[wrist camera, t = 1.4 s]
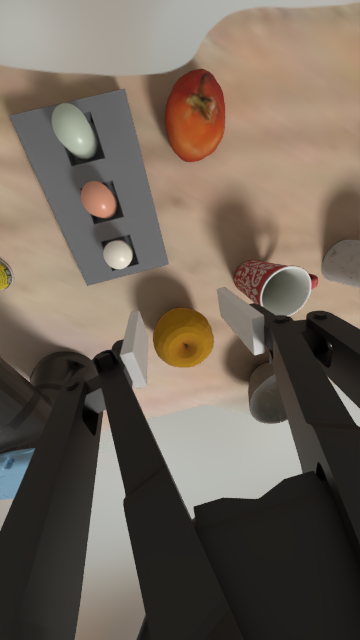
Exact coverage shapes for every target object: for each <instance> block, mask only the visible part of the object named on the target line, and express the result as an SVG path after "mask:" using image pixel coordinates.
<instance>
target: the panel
mask: <svg viewBox="0 0 360 640" xmlns="http://www.w3.org/2000/svg"><path fill="white" fill-rule="evenodd" d="M65 103H69V104H72V105H74V106H76V107H77V108H78V109H79V110H80V111H81V112H82V113H83V114H84V116H85V117H86V119H87V121H88V123H89V125H90V126H91V128H92V130H93V132H94V134H95V136H96V139H97V151H96V153H95V155H94V156H93V157H92V158H91V159H88V160H82V159H79V158H77V157H76V156H74V155H73V154H72V153H71V152H70V151H69V150H68V149H67V148H66V147H65V146H64V145H63V144H62V143H61V142H60V141H59V139H58V138H57V136H56V135H55V132H54V130H53V126H52V114H53V111H54V109H55V108H56V107H57V106H58V105H60V104H57V105H52V106H48V107H44V108H40V109H35V110H31V111H27V112H23V113H18V114H14V115H10V116H9V117H10V120H11V122H12V124H13V126H14V128H15V130H16V133H17V135H18V137H19V139H20V141H21V143H22V146H23V148H24V150H25V152H26V154H27V156H28V159H29V161H30V163H31V165H32V167H33V169H34V172H35V174H36V176H37V178H38V180H39V182H40V185H41V187H42V189H43V191H44V193H45V195H46V198H47V200H48V202H49V204H50V206H51V208H52V211H53V213H54V215H55V217H56V219H57V221H58V224H59V226H60V228H61V230H62V232H63V234H64V237H65V239H66V241H67V243H68V245H69V247H70V250H71V252H72V254H73V256H74V258H75V260H76V263H77V265H78V267H79V269H80V271H81V273H82V276H83V278H84V280H85V282H86V284H87V286H88V285H92V284H96V283H99V282H103V281H107V280H111V279H115V278H118V277H122V276H126V275H130V274H134V273H137V272H141V271H145V270H149V269H153V268H156V267H160V266H164V265H168V264H169V263H168V259H167V255H166V251H165V247H164V243H163V239H162V235H161V231H160V227H159V223H158V219H157V215H156V211H155V207H154V203H153V199H152V195H151V191H150V187H149V183H148V179H147V175H146V171H145V167H144V163H143V159H142V155H141V151H140V147H139V143H138V139H137V135H136V131H135V127H134V123H133V119H132V115H131V111H130V107H129V103H128V99H127V95H126V92H125V89H121V90H116V91H112V92H108V93H104V94H99V95H95V96H91V97H87V98H82V99H78V100H74V101H69V102H65ZM61 104H62V103H61ZM91 181H97V182H100V183H102V184H104V185H105V186H106V187H107V188H108V189H109V190H110V191H111V192H112V193H113V194H114V196H115V198H116V201H117V210H116V213H115V214H114V215H113V216H112V217H110V218H106V219H105V218H100V217H97V216H94V215H92V214H90V213H89V212H88V211H87V210H86V209H85V207H84V206H83V204H82V201H81V191H82V188H83V187H84V185H85V184H86V183H88V182H91ZM117 240H122V241H125V242H127V243H128V244H129V245H130V246H131V248H132V250H133V259H132V261H131V262H130V264H129V265H128V266H127V267H126V268H123V269H114V268H112V267H110V266H109V265H108V264H107V263H106V261H105V259H104V256H103V251H104V248H105V246H106V245H107V244H108V243H110V242H112V241H117Z"/></svg>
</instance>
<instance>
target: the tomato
mask: <svg viewBox="0 0 360 640" xmlns="http://www.w3.org/2000/svg"><path fill="white" fill-rule="evenodd" d="M165 121H166V130H167V134H168V138H169V141H170V144H171V147H172V149H173V151H174V152H175V153H176V154H177V155H178V156H179V157H180V158H181V159H182V160H184V161H186V162H194V161H199V160H201V159H204V158H205V157H206V156H208V155H210V154H211V153H213V152H214V151H215V149H216V148H217V146H218V144H219V143H220V141H221V139H222V137H223V134H224V129H225V103H224V97H223V92H222V89H221V87H220V86H219V84H218V83H217V81H216V79H215V78H214V76H213V75H212V74H211V73H210V72H208V71H206V70H204V69H198V70H194V71H190V72H189V73H187V74H185V75H183V76H182V77H181V78H179V79H178V81H177V82H176V84H175V85H174V87H173V89H172V91H171V93H170V95H169V98H168V101H167V106H166V115H165Z"/></svg>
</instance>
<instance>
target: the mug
mask: <svg viewBox="0 0 360 640" xmlns="http://www.w3.org/2000/svg"><path fill="white" fill-rule="evenodd" d="M234 282H235V285H236V287H237V288H238V289H239V290H240V291H241V292H243V293H244V294H245V295H246V296H247V297H248V298H250V299H251V300H252V301H253V302H254V303H255V304H259V305H261V306H263V307H264V308H266V309H267V310H269V311H270V312H272V313H273V314H275V315H285V316H291V315H293V314H294V313H296V312H297V311H299V310H300V309H301V308H302V307H303V306H304V304H305V303H306V302H307V300H308V298H309V295H310V292H311V289H313V288H315V287H316V286H317V284H318V277H317V276H315V275H313V274H308V273H307V271H306V270H304V269H303V268H301V267H299V266H286V265H280V264H273V263H268V262H261V261H256V260H249V261H246V262H244V263H243V264H241V265H240V266H239V267H238V269H237V270H236V273H235V276H234Z"/></svg>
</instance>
